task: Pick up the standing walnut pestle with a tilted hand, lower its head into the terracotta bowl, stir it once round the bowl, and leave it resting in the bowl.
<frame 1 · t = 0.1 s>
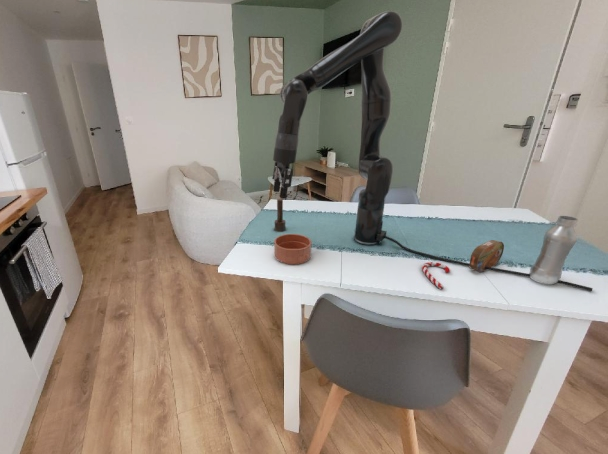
hand: (279, 194, 102), 22 cm above the table, tool pointing down, fingers open, 8 cm apart
bowl: (292, 256, 106), on the table
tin: (482, 267, 94), on the table
candy cane: (437, 277, 90), on the table
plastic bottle: (541, 281, 86), on the table
pestle: (279, 229, 130), on the table
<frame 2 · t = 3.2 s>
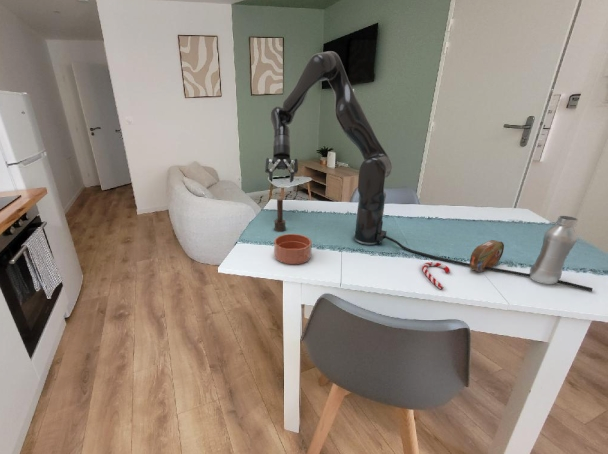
hand: (281, 181, 126), 21 cm above the table, tool tilted 35°, fingers open, 8 cm apart
nothing on the table moved.
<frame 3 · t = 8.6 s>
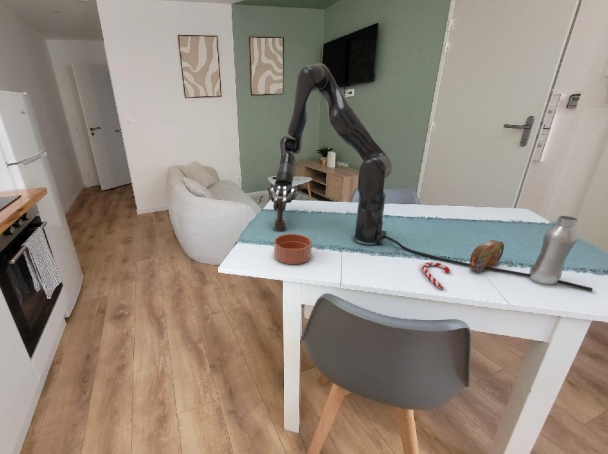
hand: (278, 210, 124), 10 cm above the table, tool tilted 45°, fingers closed on pestle, 2 cm apart
pestle: (279, 229, 130), on the table, touching gripper
everything else where it was.
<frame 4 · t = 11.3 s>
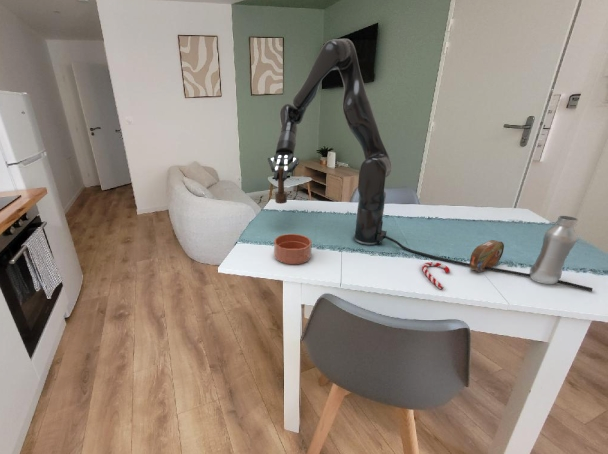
hand: (279, 179, 117), 24 cm above the table, tool tilted 45°, fingers closed on pestle, 2 cm apart
pestle: (281, 201, 123), point 14 cm above the table, touching gripper
everything else where it was.
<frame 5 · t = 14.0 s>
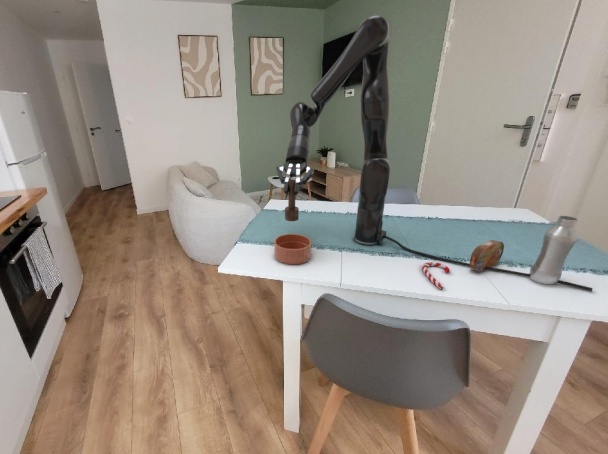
hand: (290, 193, 98), 24 cm above the table, tool tilted 45°, fingers closed on pestle, 2 cm apart
pestle: (291, 218, 103), point 14 cm above the table, touching gripper
everything else where it was.
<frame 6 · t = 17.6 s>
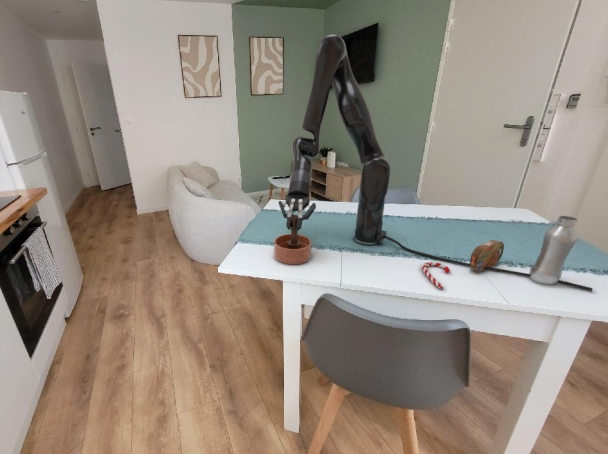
hand: (293, 229, 99), 12 cm above the table, tool tilted 45°, fingers closed on pestle, 2 cm apart
pestle: (293, 252, 104), point 2 cm above the table, touching gripper
everything else where it was.
when the fingers open (11 cm above the table, at t = 19.8 s): pestle stays where it is, resting on bowl.
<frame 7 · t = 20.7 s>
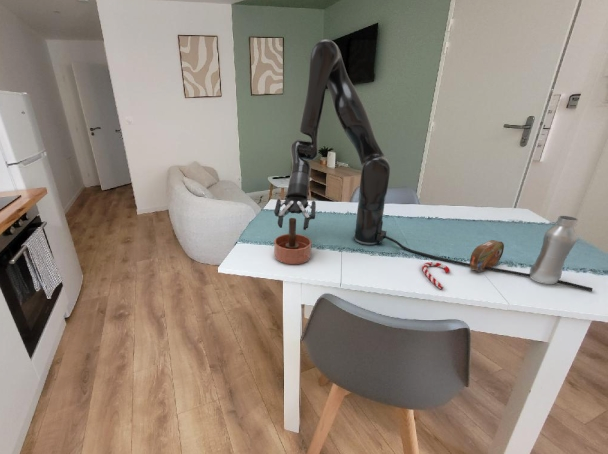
hand: (292, 228, 101), 12 cm above the table, tool tilted 45°, fingers open, 8 cm apart
pestle: (291, 254, 106), point 1 cm above the table, touching bowl
everything else where it was.
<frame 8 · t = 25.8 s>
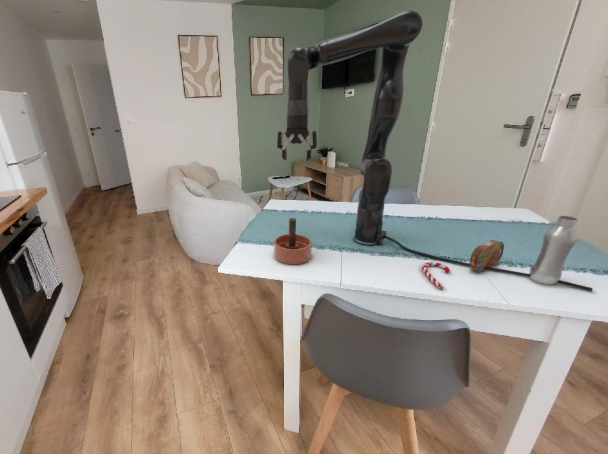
hand: (296, 160, 108), 32 cm above the table, tool pointing down, fingers open, 8 cm apart
nothing on the table moved.
at the end: pestle inside the target area in the bowl (0.2 cm from its centre), point 0.6 cm above the bowl's base; pestle moved 25.0 cm from its start; the gripper is holding nothing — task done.
